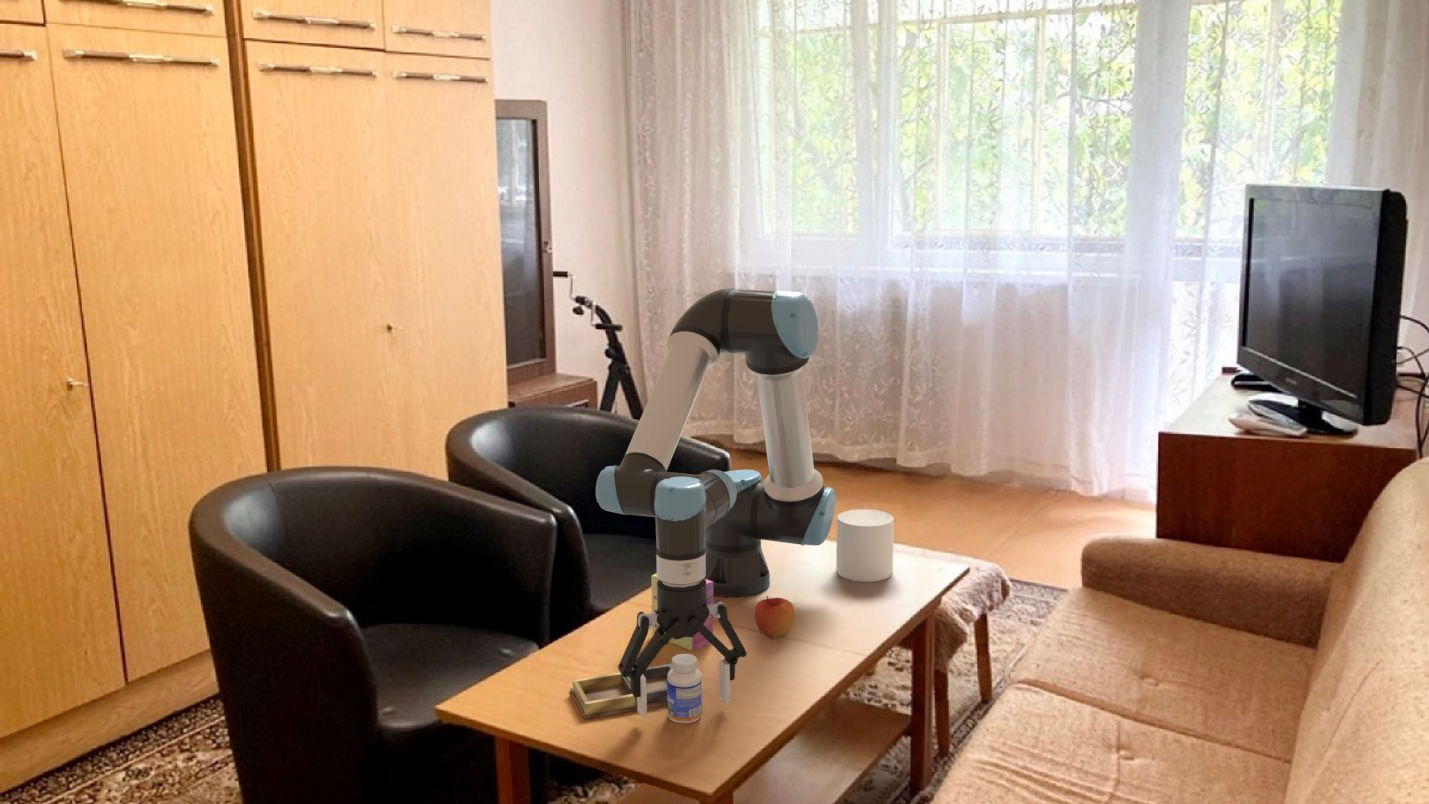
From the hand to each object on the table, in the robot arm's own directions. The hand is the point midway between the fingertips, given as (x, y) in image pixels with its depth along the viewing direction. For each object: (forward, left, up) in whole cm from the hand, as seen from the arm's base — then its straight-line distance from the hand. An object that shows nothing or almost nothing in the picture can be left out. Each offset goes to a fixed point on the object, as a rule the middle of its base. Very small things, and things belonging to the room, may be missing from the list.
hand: (684, 707), depth 179 cm
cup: (-46, +55, -2) cm, 72 cm away
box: (-28, +9, -2) cm, 29 cm away
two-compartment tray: (-10, -6, -2) cm, 12 cm away
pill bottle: (0, 0, -2) cm, 2 cm away
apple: (-23, +25, -2) cm, 34 cm away
